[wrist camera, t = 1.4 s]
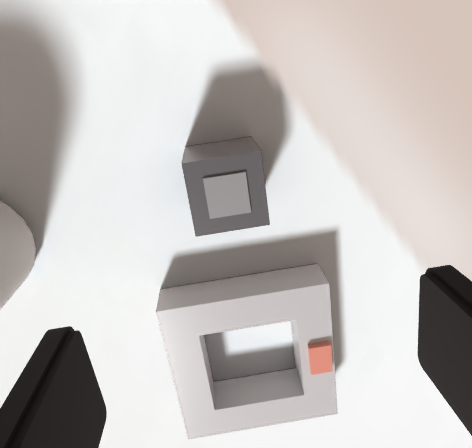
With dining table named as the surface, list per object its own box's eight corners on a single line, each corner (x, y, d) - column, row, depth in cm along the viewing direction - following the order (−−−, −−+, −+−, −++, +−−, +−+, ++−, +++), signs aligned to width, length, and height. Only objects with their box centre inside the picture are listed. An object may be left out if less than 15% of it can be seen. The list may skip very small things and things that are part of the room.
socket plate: (160, 289, 30) (155, 316, 27) (317, 263, 31) (331, 286, 27) (189, 409, 35) (188, 444, 32) (326, 386, 35) (339, 418, 32)
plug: (185, 146, 27) (181, 164, 22) (250, 136, 27) (261, 151, 22) (196, 208, 28) (195, 237, 24) (258, 198, 29) (270, 225, 24)
